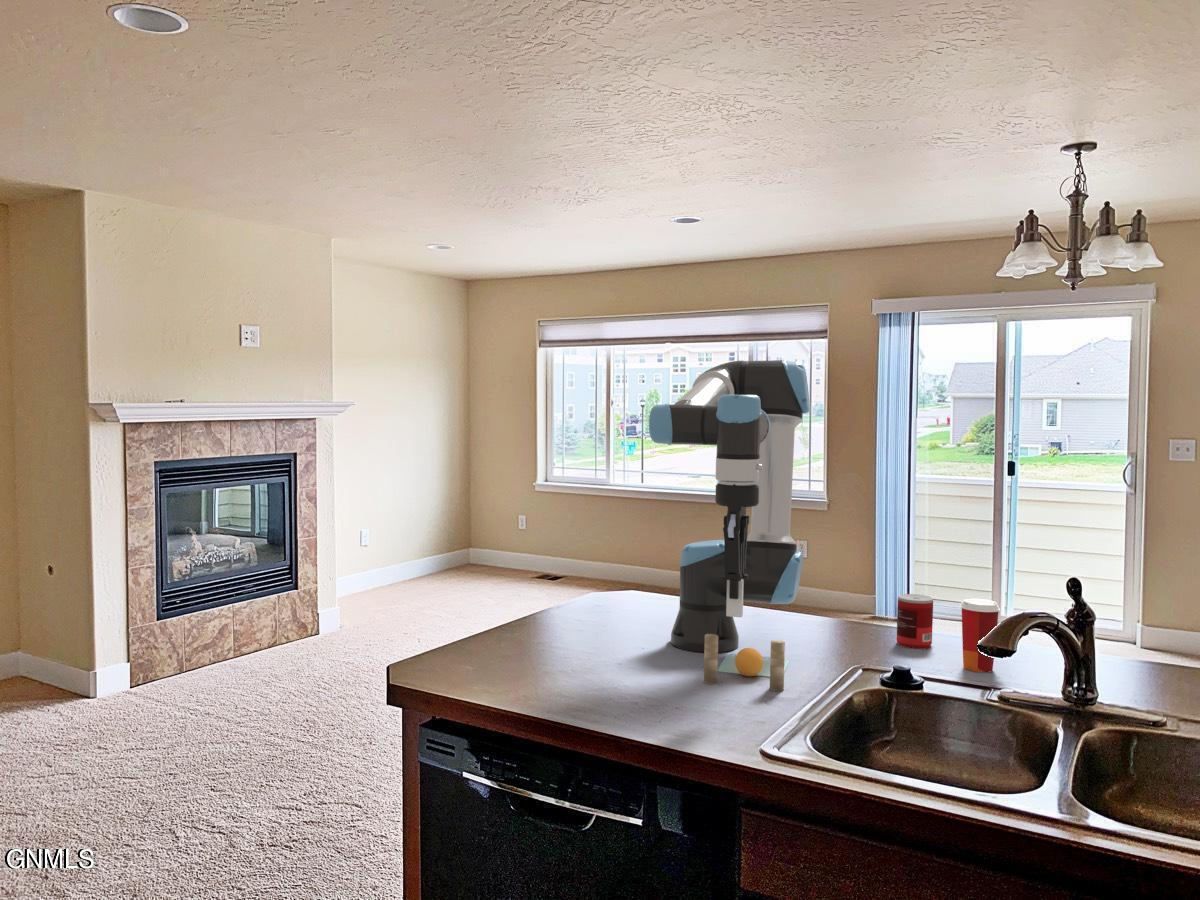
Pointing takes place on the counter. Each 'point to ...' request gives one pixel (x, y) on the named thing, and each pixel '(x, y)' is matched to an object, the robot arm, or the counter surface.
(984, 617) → the paper cup
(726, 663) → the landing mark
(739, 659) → the ball
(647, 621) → the counter surface
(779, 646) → the right post
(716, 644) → the left post
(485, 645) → the counter surface
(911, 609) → the canned food
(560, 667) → the counter surface
